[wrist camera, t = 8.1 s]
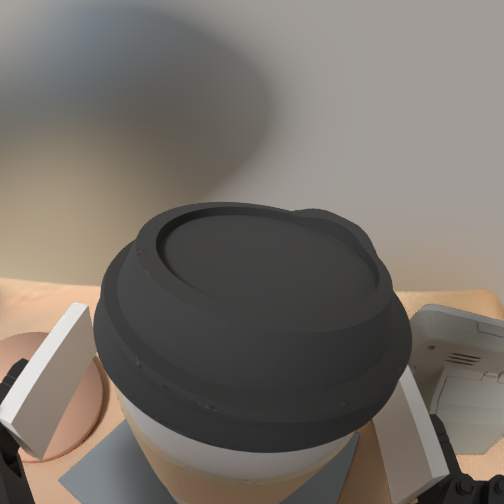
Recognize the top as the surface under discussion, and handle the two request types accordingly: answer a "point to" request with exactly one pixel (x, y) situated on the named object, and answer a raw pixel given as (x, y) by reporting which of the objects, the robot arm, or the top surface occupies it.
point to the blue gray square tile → (153, 490)
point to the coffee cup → (248, 345)
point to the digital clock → (460, 374)
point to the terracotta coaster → (79, 408)
